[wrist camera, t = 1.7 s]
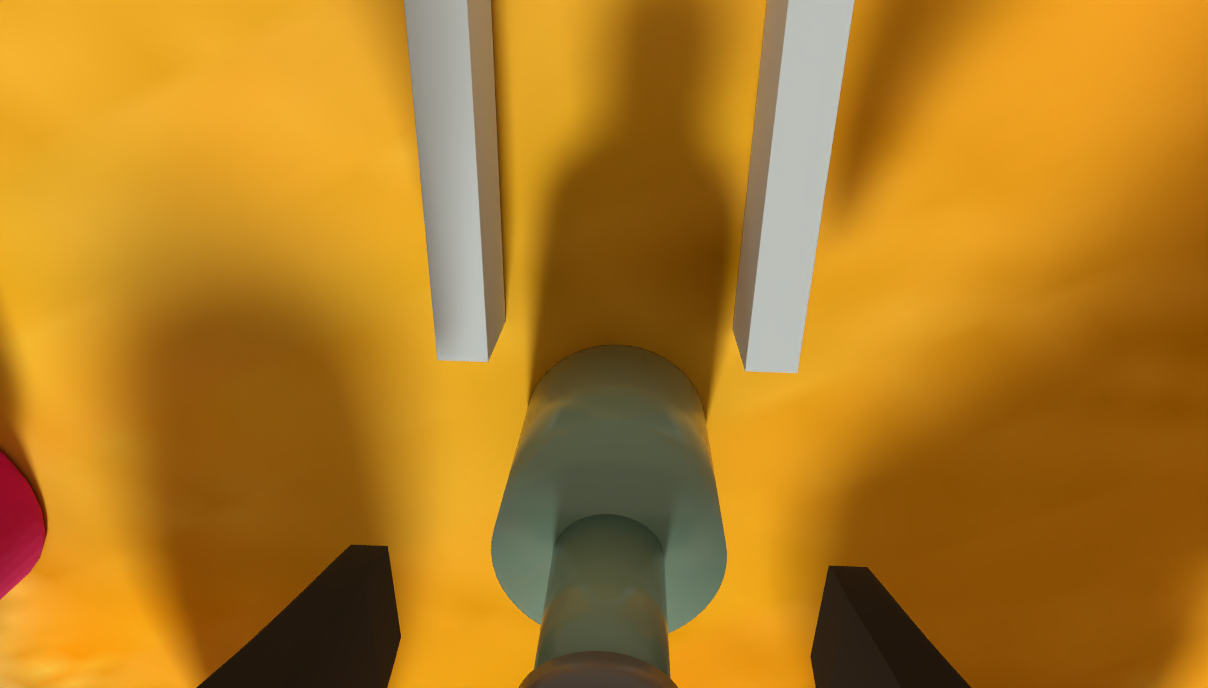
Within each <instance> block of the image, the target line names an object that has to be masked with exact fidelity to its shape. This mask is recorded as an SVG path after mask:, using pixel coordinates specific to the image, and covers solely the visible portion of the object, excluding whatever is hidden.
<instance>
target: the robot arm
mask: <svg viewBox="0 0 1208 688" xmlns="http://www.w3.org/2000/svg"><path fill="white" fill-rule="evenodd" d="M400 638H401V634H400V627H399V620H398V613H397V607H396V600H395V593H394V586H393V579H392V572H391V566H390V559H389V552H388V546H370V545H350V546H349V547H348V548H347V549H346V550H345V551H344V552H343V553H342V554H341V555H340V556H338V557H337V558H336V559H335V560H334V561H333V562H332V563H331V564H330V565H329V566H328V567H327V568H326V569H325V570H324V571H323V572H322V573H321V574H320V575H319V576H318V577H317V578H316V579H315V580H314V581H313V582H312V583H311V584H310V585H309V586H308V587H307V588H306V589H305V590H304V591H303V592H301V593H300V594H299V595H298V596H297V597H296V598H295V599H294V600H293V601H292V602H291V603H290V604H289V605H288V606H287V607H286V608H285V609H284V610H283V611H282V612H281V613H280V614H278V615H277V616H276V617H275V618H274V619H273V620H272V621H271V622H270V623H269V624H268V625H267V626H266V627H265V628H263V629H262V630H261V631H260V632H259V633H258V634H257V635H256V636H255V637H254V638H253V639H252V640H251V641H249V642H248V643H247V644H246V645H245V646H244V647H243V648H242V649H241V650H240V651H238V652H237V653H236V654H235V655H234V656H233V657H232V658H230V659H229V660H228V661H227V662H226V663H225V664H223V665H222V666H221V667H220V668H219V669H218V670H216V671H215V672H214V673H213V674H212V675H211V676H209V677H208V678H207V679H206V680H205V681H204V682H202V683H201V684H200V685H199V686H198V687H197V688H387V686H388V683H389V679H390V676H391V672H392V669H393V665H394V661H395V657H396V654H397V650H398V646H399V642H400ZM811 662H812V668H813V674H814V680H815V685H816V688H971V687H970V686H969V685H968V684H967V682H966V681H965V680H964V679H963V678H962V677H961V676H960V675H959V674H958V672H957V671H956V670H955V669H954V668H953V667H952V666H951V665H950V664H949V662H948V661H947V660H946V659H945V658H944V657H943V656H942V655H941V654H940V652H939V651H938V650H937V649H936V648H935V647H934V646H933V644H932V643H931V642H930V641H929V640H928V639H927V637H926V636H925V635H924V634H923V633H922V632H921V630H920V629H919V628H918V627H917V626H916V625H915V623H914V622H913V621H912V620H911V619H910V617H909V616H908V615H907V614H906V613H905V612H904V610H903V609H902V608H901V607H900V606H899V604H898V603H897V602H896V601H895V600H894V598H893V597H892V596H891V595H890V594H889V592H888V591H887V590H886V589H885V588H884V586H883V585H882V584H881V583H880V582H879V580H878V579H877V578H876V577H875V576H874V574H873V573H872V572H871V571H870V570H869V569H868V568H867V567H848V566H829V568H828V573H827V578H826V583H825V587H824V592H823V597H822V602H821V607H820V612H819V617H818V622H817V627H816V632H815V637H814V642H813V647H812V652H811Z"/></svg>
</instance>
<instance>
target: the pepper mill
mask: <svg viewBox="0 0 1208 688" xmlns="http://www.w3.org/2000/svg"><path fill="white" fill-rule="evenodd" d="M45 535H46V533H45V527H44V521H43V515H42V510H41V507H40V505H39V503H38V501H37V498H36V496H35V494H34V492H33V490H32V489H31V487H30V485H29V483H28V481H27V480H26V479H25V478H24V477H23V475H22V474H21V473H20V472H19V470H18V469H17V468H16V467H15V466H14V465H13V463H12V462H11V461H10V460H9V459H8V458H7V457H6V456H5V455H4V454H3V453H2V452H1V451H0V599H1V598H2V597H4V596H5V595H6V594H7V593H8V592H9V591H10V590H11V589H12V588H13V587H14V586H16V585H17V584H18V583H19V582H20V581H21V580H22V579H23V578H24V577H25V576H26V575H28V574H29V573H30V571H31V570H32V568H33V567H34V566H35V564H36V563H37V561H38V560H39V558H40V556H41V552H42V548H43V545H44V540H45Z"/></svg>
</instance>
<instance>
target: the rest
mask: <svg viewBox="0 0 1208 688" xmlns="http://www.w3.org/2000/svg"><path fill="white" fill-rule="evenodd" d="M404 5H405V16H406V27H407V38H408V49H409V59H410V70H411V81H412V92H413V102H414V113H415V124H416V135H417V146H418V156H419V167H420V178H421V189H422V199H423V210H424V221H425V232H426V243H427V253H428V264H429V275H430V286H431V296H432V307H433V318H434V329H435V339H436V350H437V360H450V361H478V362H488V361H489V359H490V356H491V354H492V352H493V349H494V347H495V345H496V342H497V340H498V338H499V335H500V333H501V331H502V329H503V326H504V324H505V322H506V320H505V298H504V276H503V254H502V232H501V210H500V188H499V166H498V144H497V122H496V99H495V77H494V55H493V33H492V11H491V0H404ZM853 6H854V0H767V7H766V16H765V26H764V35H763V45H762V54H761V64H760V73H759V82H758V92H757V101H756V111H755V120H754V130H753V139H752V149H751V158H750V168H749V177H748V187H747V196H746V206H745V215H744V225H743V234H742V244H741V253H740V263H739V272H738V282H737V291H736V301H735V310H734V320H733V333H734V336H735V339H736V342H737V346H738V349H739V352H740V356H741V359H742V362H743V366H744V369H745V371H755V372H783V373H797V372H798V365H799V359H800V352H801V345H802V339H803V332H804V326H805V319H806V313H807V306H808V300H809V293H810V287H811V280H812V274H813V267H814V261H815V254H816V247H817V241H818V234H819V228H820V221H821V215H822V208H823V202H824V195H825V189H826V182H827V176H828V169H829V162H830V156H831V149H832V143H833V136H834V130H835V123H836V117H837V110H838V104H839V97H840V91H841V84H842V78H843V71H844V64H845V58H846V51H847V45H848V38H849V32H850V25H851V19H852V12H853Z"/></svg>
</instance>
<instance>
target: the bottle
mask: <svg viewBox="0 0 1208 688" xmlns="http://www.w3.org/2000/svg"><path fill="white" fill-rule="evenodd" d="M491 555H492V562H493V567H494V570H495V573H496V576H497V579H498V581H499V583H500V585H501V587H502V588H503V590H504V591H505V593H506V594H507V596H508V597H509V599H510V600H511V601H512V602H513V603H514V604H515V605H516V606H517V607H518V608H519V609H520V610H521V611H522V612H523V613H524V614H526V615H527V616H528V617H529V618H531V619H532V620H534V621H535V622H537V623H538V624H540V625H541V628H540V635H539V641H538V647H537V654H536V660H535V666H534V670H533V671H532V672H530V673H529V675H528V676H527V677H526V678H525V679H524V680H523V682H522V683H521V684H520V686H519V688H678V687H677V686H676V684H675V683H674V682H673V681H672V680H671V679H670V662H669V642H668V633H670V632H672V631H674V630H676V629H678V628H680V627H681V626H683V625H685V624H687V623H688V622H689V621H691V620H692V619H693V618H695V617H696V616H697V615H698V614H699V613H701V612H702V611H703V610H704V609H705V608H706V607H707V605H708V604H709V603H710V602H711V600H712V599H713V598H714V596H715V594H716V593H717V591H718V589H719V588H720V585H721V582H722V580H723V577H724V574H725V569H726V562H727V550H726V542H725V536H724V530H723V524H722V518H721V512H720V506H719V500H718V494H717V488H716V482H715V476H714V470H713V464H712V458H711V452H710V446H709V440H708V434H707V428H706V422H705V415H704V409H703V406H702V402H701V399H700V397H699V395H698V393H697V390H696V389H695V387H694V386H693V384H692V383H691V381H690V380H689V379H688V377H687V376H686V375H685V374H684V373H683V372H682V371H681V370H680V369H679V368H678V367H676V366H675V365H674V364H673V363H671V362H670V361H668V360H667V359H665V358H663V357H661V356H659V355H657V354H655V353H653V352H650V351H647V350H644V349H641V348H636V347H632V346H623V345H604V346H598V347H592V348H588V349H585V350H581V351H579V352H576V353H574V354H571V355H570V356H568V357H566V358H564V359H563V360H561V361H560V362H558V363H557V364H556V365H554V366H553V367H552V368H551V369H550V370H549V371H548V372H547V373H546V374H545V375H544V376H543V377H542V379H541V380H540V381H539V383H538V384H537V386H536V388H535V390H534V392H533V394H532V397H531V399H530V402H529V406H528V409H527V413H526V416H525V420H524V424H523V427H522V431H521V434H520V438H519V442H518V445H517V449H516V452H515V456H514V459H513V463H512V467H511V470H510V474H509V477H508V481H507V484H506V488H505V492H504V495H503V499H502V502H501V506H500V510H499V513H498V517H497V520H496V524H495V527H494V532H493V537H492V545H491Z"/></svg>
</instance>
